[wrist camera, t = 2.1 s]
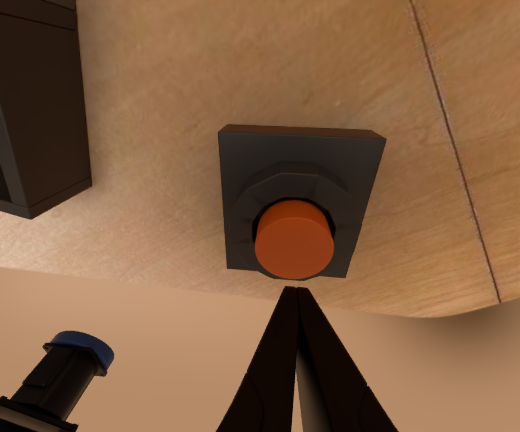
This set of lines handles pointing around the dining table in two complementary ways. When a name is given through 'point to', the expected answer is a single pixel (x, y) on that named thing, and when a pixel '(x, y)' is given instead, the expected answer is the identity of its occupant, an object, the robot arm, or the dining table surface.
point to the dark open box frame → (40, 107)
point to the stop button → (293, 240)
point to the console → (296, 184)
